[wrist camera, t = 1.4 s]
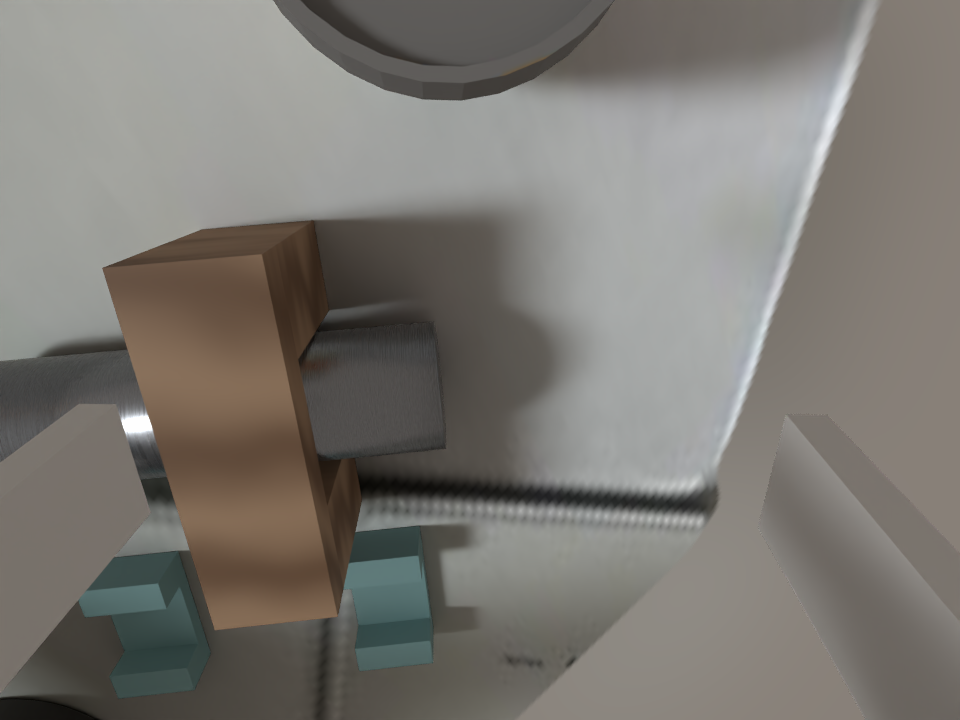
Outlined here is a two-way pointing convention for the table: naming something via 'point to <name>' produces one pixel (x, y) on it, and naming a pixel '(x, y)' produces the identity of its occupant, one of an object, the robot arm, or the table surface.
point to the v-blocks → (179, 633)
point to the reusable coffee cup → (445, 40)
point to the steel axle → (326, 380)
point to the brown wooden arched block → (241, 416)
